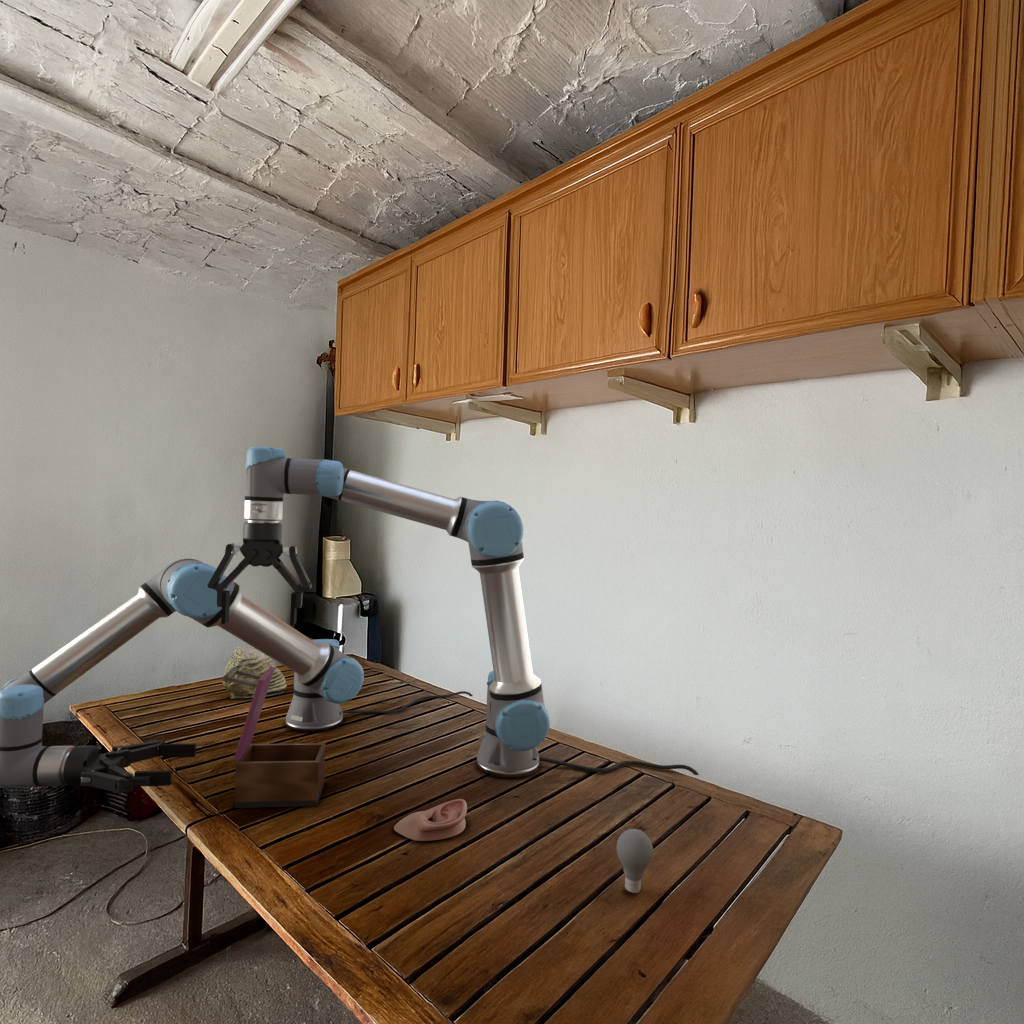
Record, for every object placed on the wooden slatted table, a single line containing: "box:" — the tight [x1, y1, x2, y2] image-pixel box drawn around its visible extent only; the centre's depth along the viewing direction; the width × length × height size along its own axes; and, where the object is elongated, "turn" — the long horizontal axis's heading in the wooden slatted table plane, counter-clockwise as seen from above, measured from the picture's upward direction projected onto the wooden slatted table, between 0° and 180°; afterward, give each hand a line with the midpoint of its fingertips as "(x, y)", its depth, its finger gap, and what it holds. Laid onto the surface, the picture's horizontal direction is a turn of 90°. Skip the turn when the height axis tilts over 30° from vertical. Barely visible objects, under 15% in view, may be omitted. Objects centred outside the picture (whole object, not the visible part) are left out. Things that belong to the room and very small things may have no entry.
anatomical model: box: [393, 798, 468, 842], centre depth 123 cm, size 13×4×12 cm
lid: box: [221, 666, 275, 762], centre depth 132 cm, size 17×10×8 cm
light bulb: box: [615, 828, 654, 894], centre depth 106 cm, size 6×6×10 cm
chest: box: [233, 742, 327, 809], centre depth 133 cm, size 16×10×9 cm, turn 98°
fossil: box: [222, 646, 288, 699], centre depth 198 cm, size 9×18×15 cm, turn 132°
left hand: (183, 763), depth 131 cm, fingers open, 13 cm apart
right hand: (259, 623), depth 132 cm, fingers open, 13 cm apart
